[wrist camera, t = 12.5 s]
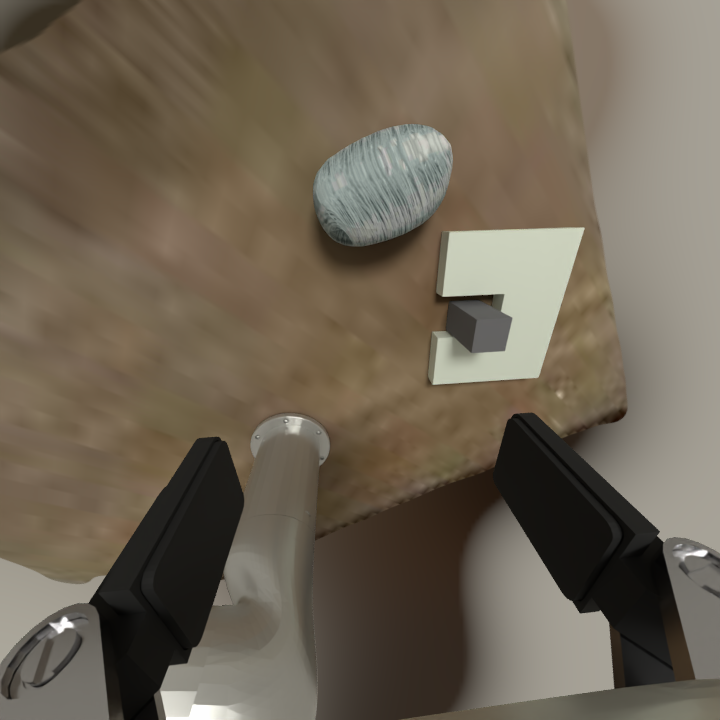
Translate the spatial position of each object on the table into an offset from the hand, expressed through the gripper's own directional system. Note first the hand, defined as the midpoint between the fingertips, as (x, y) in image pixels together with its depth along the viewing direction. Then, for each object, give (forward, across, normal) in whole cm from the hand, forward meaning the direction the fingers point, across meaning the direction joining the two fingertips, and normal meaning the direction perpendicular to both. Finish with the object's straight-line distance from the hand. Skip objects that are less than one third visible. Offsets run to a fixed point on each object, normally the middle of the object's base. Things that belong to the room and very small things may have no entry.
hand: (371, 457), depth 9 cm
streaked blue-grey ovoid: (+29, -4, -10) cm, 31 cm away
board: (+28, -20, +4) cm, 35 cm away
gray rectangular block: (+28, -16, +4) cm, 33 cm away
